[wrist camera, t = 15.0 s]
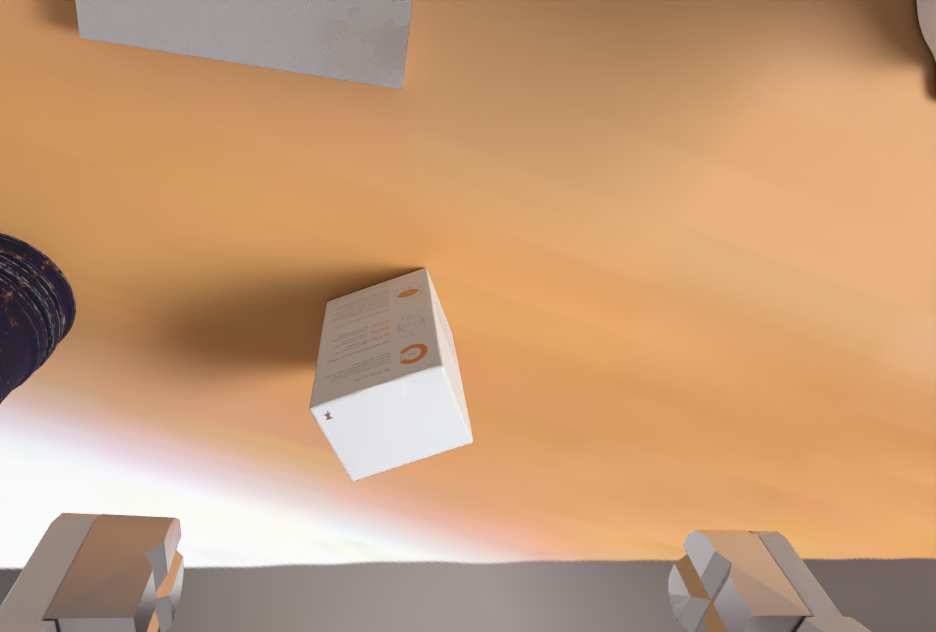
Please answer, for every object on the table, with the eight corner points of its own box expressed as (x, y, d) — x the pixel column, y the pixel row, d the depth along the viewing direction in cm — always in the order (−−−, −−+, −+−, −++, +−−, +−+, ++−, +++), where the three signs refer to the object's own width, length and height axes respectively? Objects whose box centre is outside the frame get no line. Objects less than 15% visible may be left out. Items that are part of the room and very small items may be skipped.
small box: (358, 365, 48) (350, 485, 37) (325, 300, 45) (304, 409, 34) (454, 333, 48) (475, 444, 36) (427, 265, 45) (442, 363, 33)
